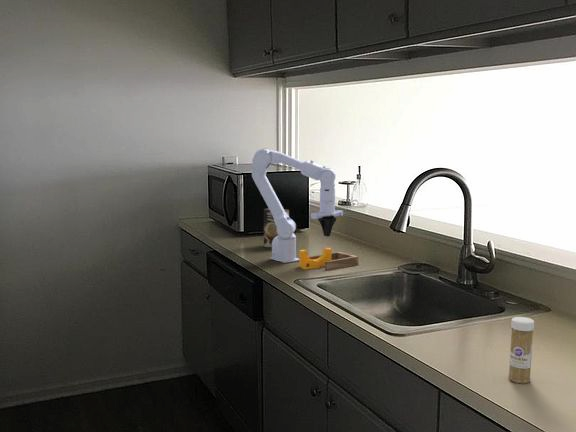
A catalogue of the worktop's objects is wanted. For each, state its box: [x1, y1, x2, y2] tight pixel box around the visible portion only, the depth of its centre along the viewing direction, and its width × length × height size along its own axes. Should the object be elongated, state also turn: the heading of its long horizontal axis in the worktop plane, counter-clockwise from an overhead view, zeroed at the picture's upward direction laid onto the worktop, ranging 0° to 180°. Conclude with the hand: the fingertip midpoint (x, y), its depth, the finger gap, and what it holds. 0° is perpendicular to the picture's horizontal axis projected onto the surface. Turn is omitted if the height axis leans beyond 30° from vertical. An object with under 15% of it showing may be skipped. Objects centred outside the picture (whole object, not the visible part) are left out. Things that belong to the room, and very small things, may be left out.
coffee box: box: [263, 207, 290, 248], centre depth 286 cm, size 9×6×16 cm
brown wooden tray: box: [308, 251, 359, 271], centre depth 253 cm, size 11×16×3 cm
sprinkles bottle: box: [508, 316, 535, 384], centre depth 143 cm, size 5×5×13 cm
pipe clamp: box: [298, 247, 333, 270], centre depth 250 cm, size 12×4×6 cm, turn 113°
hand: (326, 235), depth 258 cm, fingers closed
